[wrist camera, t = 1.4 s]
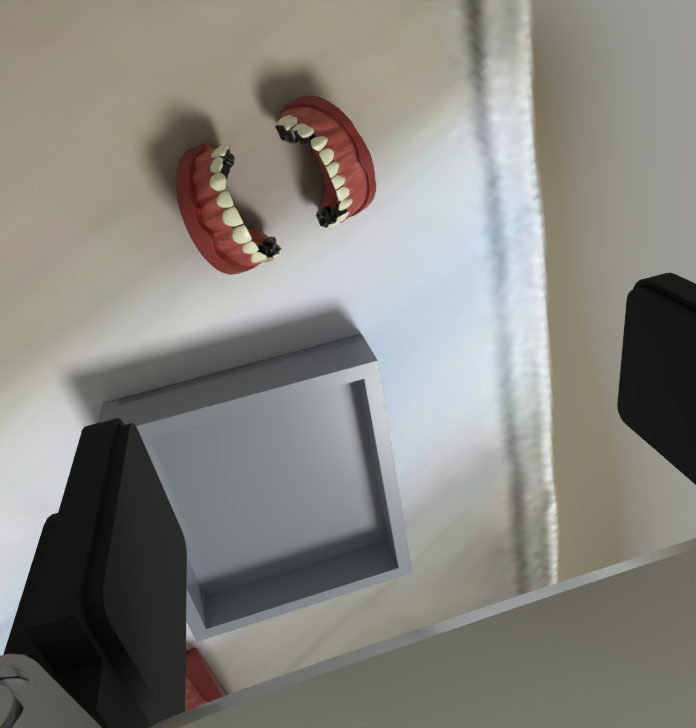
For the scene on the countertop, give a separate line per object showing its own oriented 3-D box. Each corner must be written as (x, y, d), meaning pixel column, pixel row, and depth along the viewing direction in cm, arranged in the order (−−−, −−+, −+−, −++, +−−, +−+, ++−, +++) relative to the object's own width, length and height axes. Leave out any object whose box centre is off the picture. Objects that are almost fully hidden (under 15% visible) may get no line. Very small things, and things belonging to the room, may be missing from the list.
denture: (400, 221, 24) (226, 304, 24) (374, 200, 28) (224, 273, 28) (348, 83, 21) (153, 178, 21) (328, 81, 25) (161, 162, 25)
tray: (103, 402, 29) (95, 437, 27) (361, 334, 31) (377, 360, 28) (196, 600, 37) (196, 641, 34) (397, 537, 39) (412, 572, 36)
